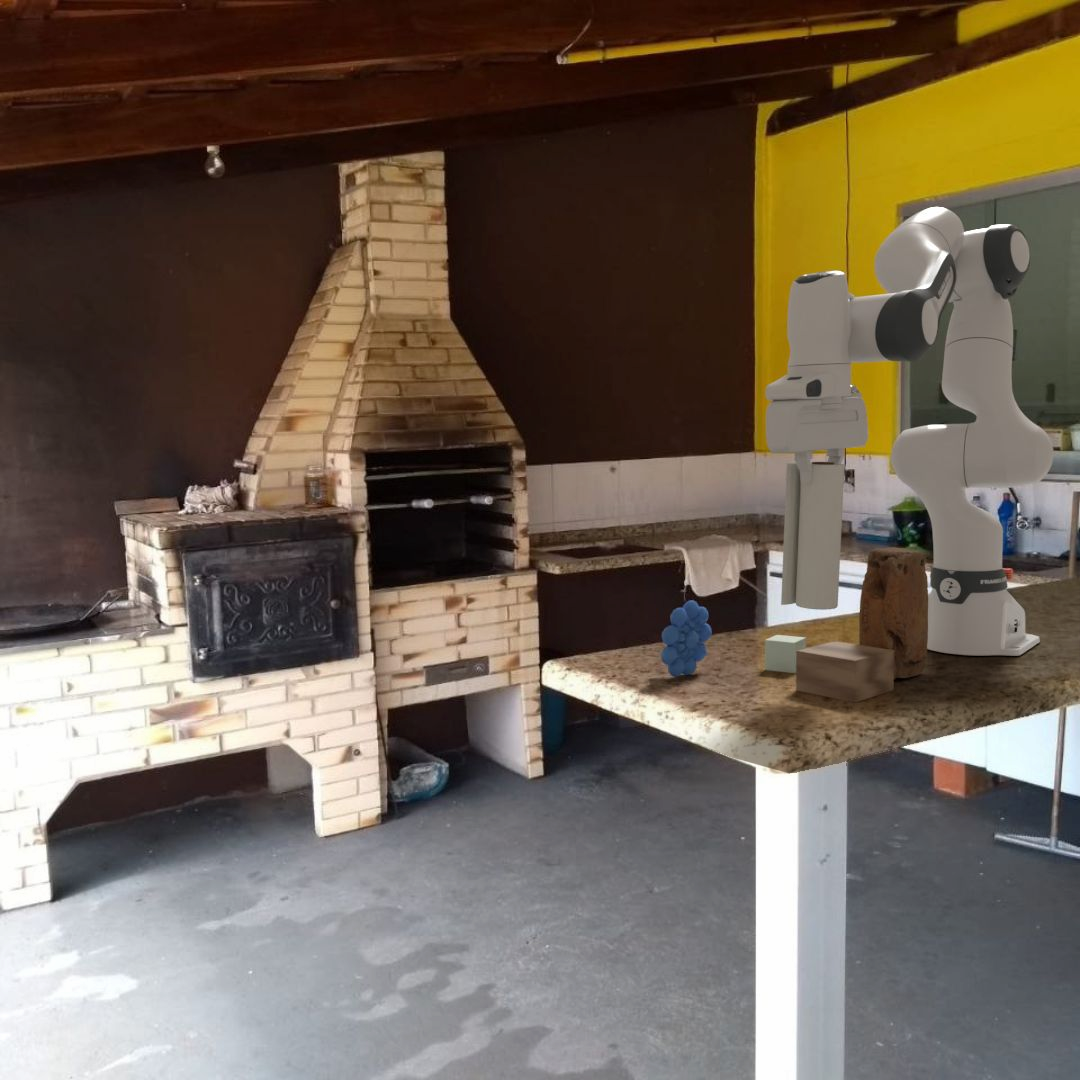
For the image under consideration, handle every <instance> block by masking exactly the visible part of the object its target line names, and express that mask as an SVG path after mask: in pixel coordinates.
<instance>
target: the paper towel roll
mask: <svg viewBox="0 0 1080 1080" xmlns="http://www.w3.org/2000/svg"><path fill="white" fill-rule="evenodd" d="M811 465H812V468H813V480H812V483H801V481H800V471H799V468H798V466H797V464H796V462H793V463H792V462H791V463H790V462H789V463H786V475H785V476H786V477H785V478H786V479H785V496H784V497H785V500H784V501H785V502H784V528H783V547H782V548H783V549H782V550H783V551H782V552H783V553H782V571H781V573H782V576H781V577H782V579H781V599H780V602H781V603H780V605H781V606H783V605H784V606H785V605H787V606H788V605H793V604H795V605H796V606H797V607H799V608H802V609H807V610H821V611H822V610H823V611H824V610H825V611H826V610H834V609H836V608H838V605H839V588H840V587H839V586H840V570H841V569H840V565H841V546H842V525H843V504H844V503H843V502H844V500H843V499H844V482H845V481H844V479H845V464H843V463H841V464H835V463H833V462H828V461H812V462H811Z"/></svg>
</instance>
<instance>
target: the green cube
mask: <svg viewBox="0 0 1080 1080" xmlns="http://www.w3.org/2000/svg"><path fill="white" fill-rule="evenodd" d="M806 648H807V637H804V636H793V635H792V636H791V635H785V634H784V635H782V634H775V635H773V636H771V637H769V638H766V639H764V671H773V672H781V673H791V674H796V651H798V650H802V649H806Z"/></svg>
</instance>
